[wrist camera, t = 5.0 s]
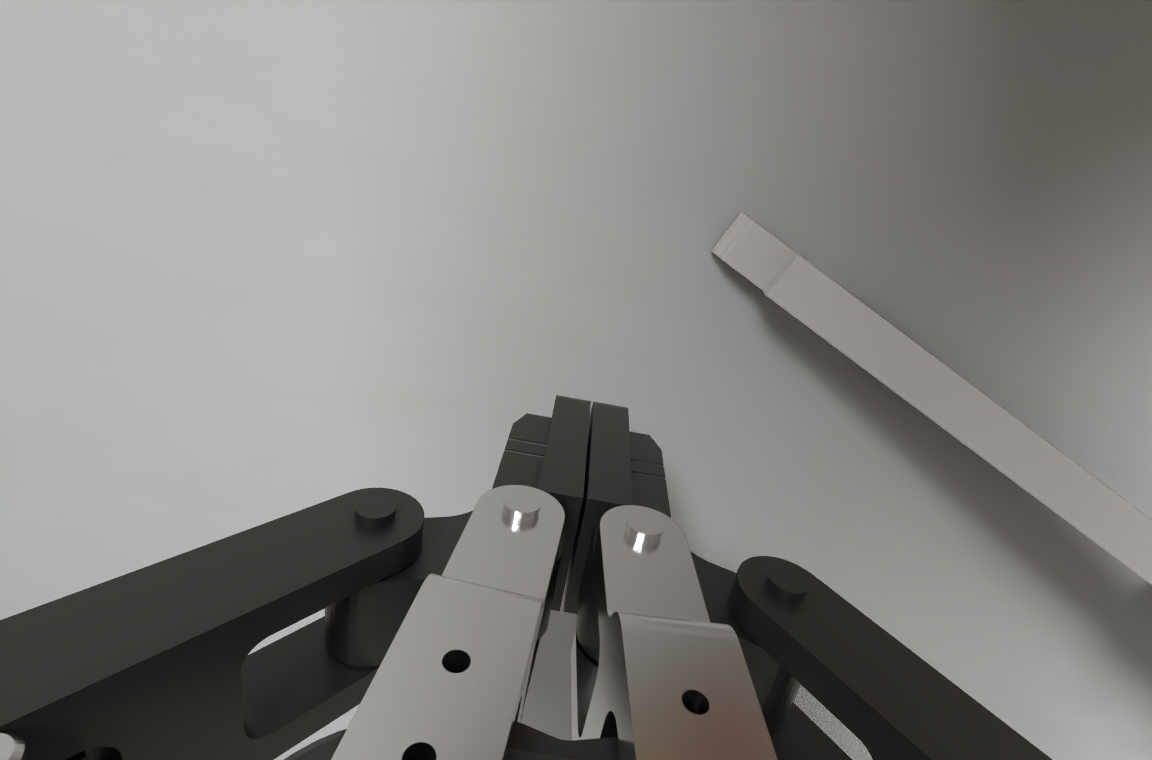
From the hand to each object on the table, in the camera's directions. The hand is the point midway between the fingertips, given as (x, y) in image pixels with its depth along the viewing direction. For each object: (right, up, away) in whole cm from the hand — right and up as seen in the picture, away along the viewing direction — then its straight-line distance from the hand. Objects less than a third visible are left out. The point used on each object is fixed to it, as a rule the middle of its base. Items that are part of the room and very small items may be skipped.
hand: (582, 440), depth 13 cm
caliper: (+11, -1, +2) cm, 12 cm away
